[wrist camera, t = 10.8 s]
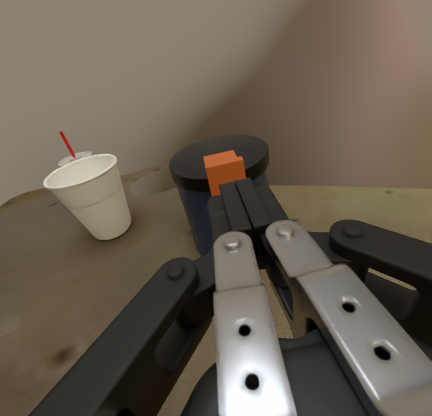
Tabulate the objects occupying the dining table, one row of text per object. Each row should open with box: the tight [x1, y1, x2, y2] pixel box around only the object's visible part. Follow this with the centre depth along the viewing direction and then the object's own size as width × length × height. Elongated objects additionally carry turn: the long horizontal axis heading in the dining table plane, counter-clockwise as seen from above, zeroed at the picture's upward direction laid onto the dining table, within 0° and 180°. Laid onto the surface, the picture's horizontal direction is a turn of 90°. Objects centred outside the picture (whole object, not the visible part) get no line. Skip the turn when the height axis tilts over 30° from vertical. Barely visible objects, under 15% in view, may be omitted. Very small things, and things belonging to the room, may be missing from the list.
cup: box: [43, 154, 131, 240], centre depth 38 cm, size 10×10×11 cm
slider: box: [203, 150, 246, 196], centre depth 23 cm, size 6×3×3 cm, turn 7°
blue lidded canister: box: [169, 135, 270, 256], centre depth 31 cm, size 11×11×12 cm
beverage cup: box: [58, 131, 93, 167], centre depth 47 cm, size 6×6×14 cm
